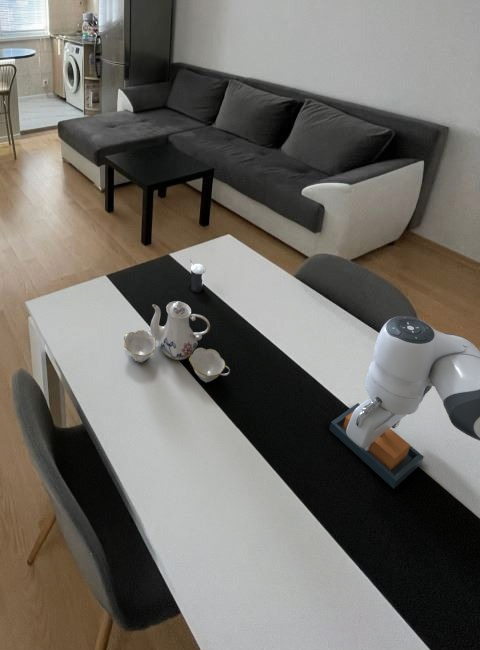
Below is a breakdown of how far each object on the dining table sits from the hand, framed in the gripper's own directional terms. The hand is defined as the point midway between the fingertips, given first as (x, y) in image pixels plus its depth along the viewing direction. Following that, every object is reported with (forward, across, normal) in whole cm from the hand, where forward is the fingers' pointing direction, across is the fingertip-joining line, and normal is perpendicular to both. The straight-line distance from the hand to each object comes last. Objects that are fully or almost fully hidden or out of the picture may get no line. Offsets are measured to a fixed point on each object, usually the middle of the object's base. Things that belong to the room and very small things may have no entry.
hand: (378, 435), depth 90 cm
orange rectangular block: (+3, 0, 0) cm, 3 cm away
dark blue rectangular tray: (+4, 0, 0) cm, 4 cm away
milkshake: (+3, +1, +58) cm, 58 cm away
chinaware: (+3, -22, +40) cm, 46 cm away
